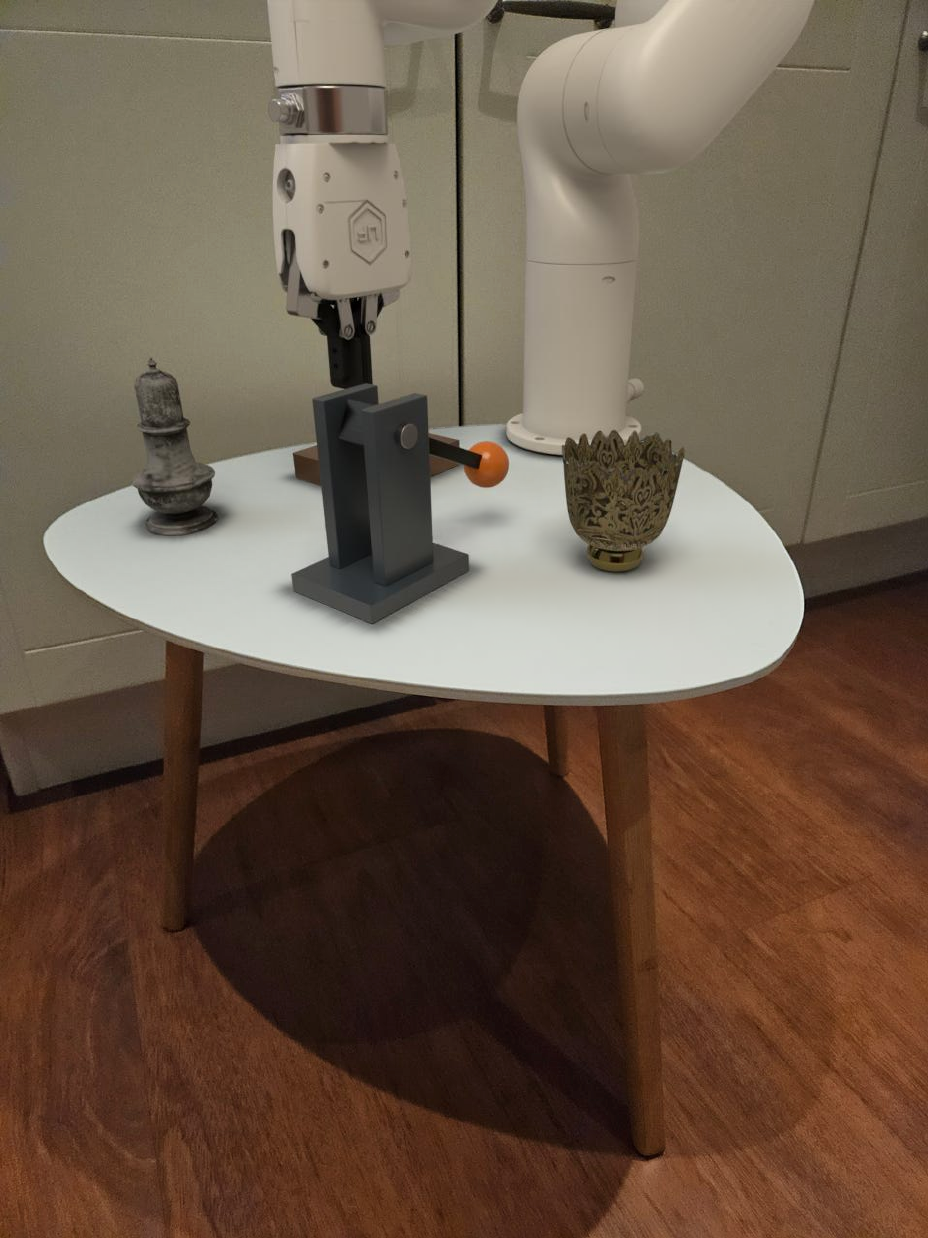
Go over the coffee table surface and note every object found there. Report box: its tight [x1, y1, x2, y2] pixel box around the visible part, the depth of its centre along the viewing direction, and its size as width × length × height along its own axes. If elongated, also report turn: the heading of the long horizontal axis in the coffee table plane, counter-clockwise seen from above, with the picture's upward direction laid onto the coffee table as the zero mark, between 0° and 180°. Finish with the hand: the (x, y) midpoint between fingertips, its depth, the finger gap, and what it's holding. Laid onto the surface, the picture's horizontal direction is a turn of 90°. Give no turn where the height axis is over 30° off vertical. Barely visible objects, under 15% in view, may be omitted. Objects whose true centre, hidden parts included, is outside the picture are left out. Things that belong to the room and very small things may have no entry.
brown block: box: [292, 432, 461, 486], centre depth 72 cm, size 11×9×4 cm
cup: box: [562, 430, 686, 572], centre depth 54 cm, size 8×7×8 cm
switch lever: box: [338, 399, 510, 489], centre depth 55 cm, size 15×3×3 cm, turn 141°
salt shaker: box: [130, 357, 219, 536], centre depth 61 cm, size 6×6×12 cm
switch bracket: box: [290, 383, 470, 624], centre depth 52 cm, size 9×7×12 cm
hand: (351, 386), depth 68 cm, fingers closed
